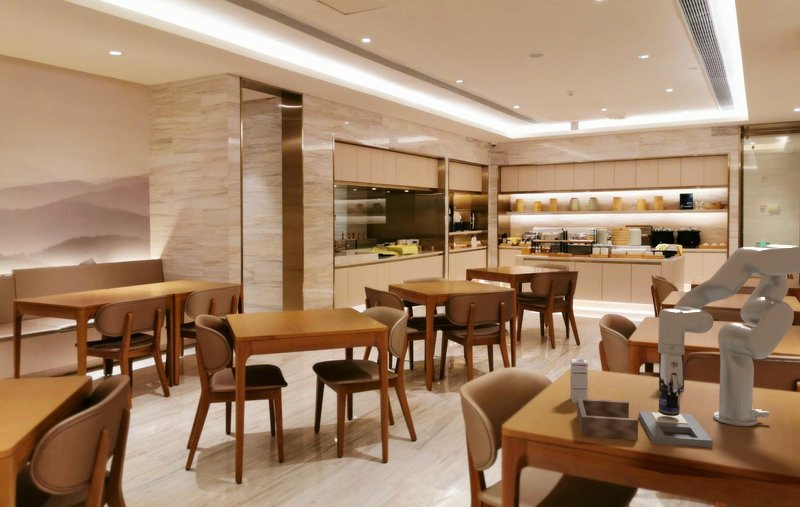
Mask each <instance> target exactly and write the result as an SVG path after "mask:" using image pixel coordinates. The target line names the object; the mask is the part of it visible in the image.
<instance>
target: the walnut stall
mask: <svg viewBox="0 0 800 507" xmlns="http://www.w3.org/2000/svg"><path fill="white" fill-rule="evenodd" d="M629 409H630V402H629V400H627V401H623V400H607V399H594V398H593V399H592V398H591V399H590V398H589V399H577V403H576V419H577V423H578V427H579V428H578V429H579V431H580V435H581V437H584V438H599V439H600V438H601V439H611V440H613V439H614V440H625V441H627V440H629V441H638V440H639V420H638V418H632V417H630V418H629V416H630V415H629V411H630V410H629Z"/></svg>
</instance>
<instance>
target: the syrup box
mask: <svg viewBox="0 0 800 507" xmlns="http://www.w3.org/2000/svg"><path fill="white" fill-rule="evenodd" d="M587 361H588V360H586V359H584V358H583V359H582V358H570V402H571V403H576V404H577V399H588V398H589V390H588V389H589V386H588V385H589V383H588V382H589V375H588V373H589V371H588V369H589V366H588V362H587Z"/></svg>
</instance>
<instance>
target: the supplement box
mask: <svg viewBox="0 0 800 507" xmlns="http://www.w3.org/2000/svg"><path fill="white" fill-rule="evenodd" d="M685 350H686V348H685V347H684V355H682V367H683V386H682V387H680V386H679V385H678V387H679V388H680V392H683V391H684V390H685V369H686V368H685V364H686V362H685V361H686V360H685V357H686V356H685V354H686V351H685ZM658 353H659V352H658ZM658 359H659V360H658V361H659V362H658V364H659V367H658V373H659V374H658V388H660V386H661V385H662V380H661V376H660V367H661V353H659V358H658Z"/></svg>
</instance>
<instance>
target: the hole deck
mask: <svg viewBox="0 0 800 507" xmlns="http://www.w3.org/2000/svg"><path fill="white" fill-rule="evenodd" d="M638 418H639V420H640V422H641V423H642V425H643V427H644V429H645V431H646V432H648V433H647V435H648V434H649V435H648V436H649V439H650V440H651V442H652V444H659V445H673V446H687V447H701V448H702V447H703V448H713V447H714V445H713V443H714V442H713V441H714V440H713V439H712V437H711V436H710V435H709V434H708V433H707V431H706V430H705V429H704V428H703V427H702V426H701V424H700V423H699V421H697V419H696V418H695V417H694V415H693V414H691V413H679V415H677V416H667V415H663V414H661V413H659V411H658V412H657V411H647V410H646V411H645V410H643V411H642V410H639V411H638Z"/></svg>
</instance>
